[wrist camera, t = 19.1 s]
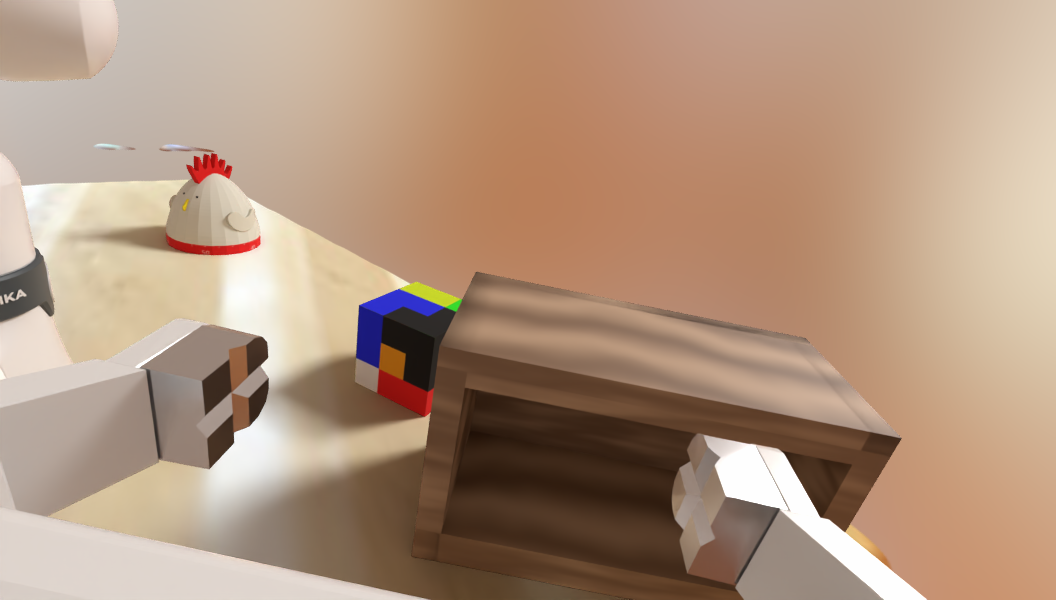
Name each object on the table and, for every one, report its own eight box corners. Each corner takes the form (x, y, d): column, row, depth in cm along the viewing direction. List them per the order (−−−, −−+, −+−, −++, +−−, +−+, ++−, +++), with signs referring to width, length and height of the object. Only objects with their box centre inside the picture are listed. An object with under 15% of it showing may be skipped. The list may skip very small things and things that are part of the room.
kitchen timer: (145, 240, 83) (134, 147, 77) (214, 223, 95) (209, 142, 89) (217, 262, 80) (211, 167, 74) (277, 241, 93) (277, 159, 87)
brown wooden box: (786, 629, 39) (901, 438, 32) (411, 556, 39) (439, 345, 32) (732, 496, 52) (805, 338, 45) (449, 440, 52) (476, 271, 45)
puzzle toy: (354, 382, 58) (359, 305, 54) (409, 350, 67) (416, 281, 63) (424, 417, 55) (434, 337, 51) (472, 378, 63) (484, 308, 60)
